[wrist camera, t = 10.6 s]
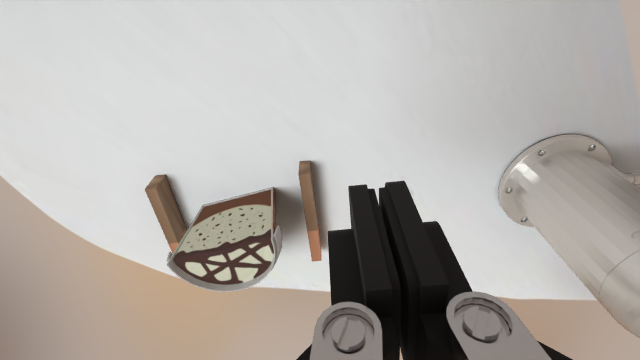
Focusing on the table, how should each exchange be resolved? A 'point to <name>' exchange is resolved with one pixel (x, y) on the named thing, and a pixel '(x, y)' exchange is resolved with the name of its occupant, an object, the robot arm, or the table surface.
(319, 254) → the lane walls
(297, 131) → the table surface
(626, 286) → the robot arm
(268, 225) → the food container
